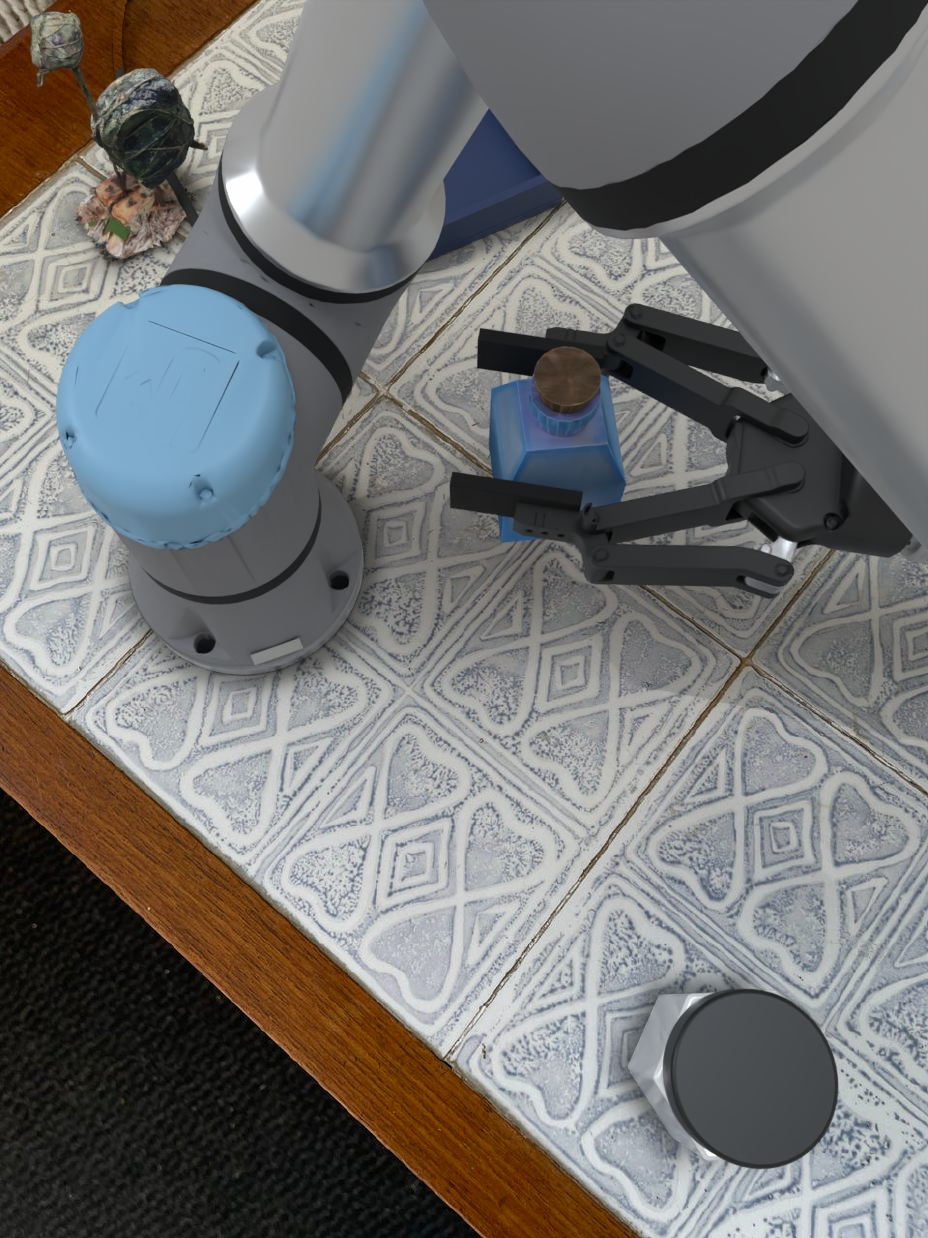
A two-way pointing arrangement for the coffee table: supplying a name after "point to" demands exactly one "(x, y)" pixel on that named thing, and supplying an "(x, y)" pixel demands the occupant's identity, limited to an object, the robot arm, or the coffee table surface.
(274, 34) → the coffee table surface
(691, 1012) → the jar
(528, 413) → the perfume bottle
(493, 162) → the tray
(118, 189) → the plant with pod
